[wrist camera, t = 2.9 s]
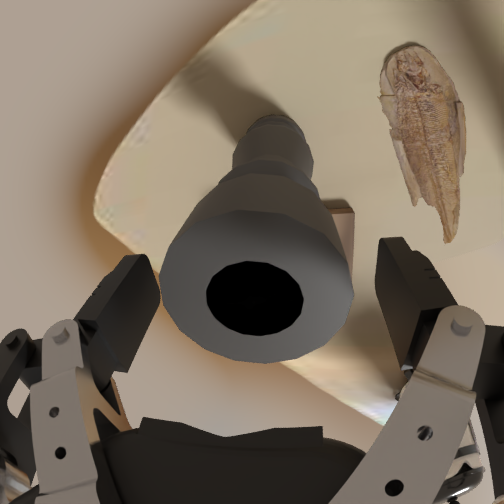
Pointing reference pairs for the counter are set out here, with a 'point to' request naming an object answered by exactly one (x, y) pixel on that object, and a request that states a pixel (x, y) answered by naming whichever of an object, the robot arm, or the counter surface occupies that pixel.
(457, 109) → the fish fossil
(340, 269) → the candle holder
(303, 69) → the counter surface
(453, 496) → the coffee press
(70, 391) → the robot arm
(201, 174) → the counter surface
